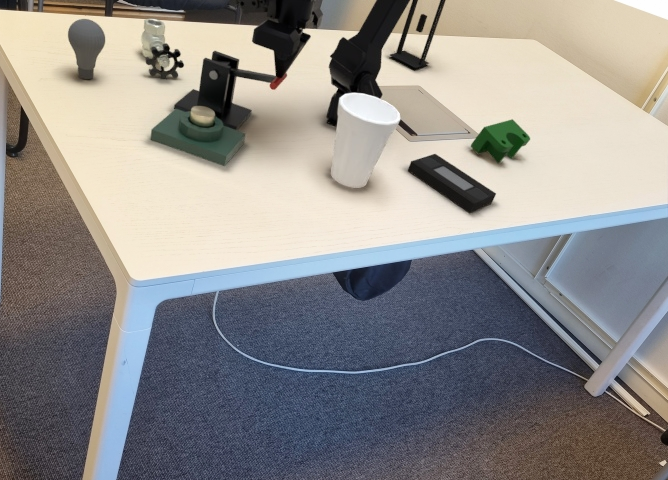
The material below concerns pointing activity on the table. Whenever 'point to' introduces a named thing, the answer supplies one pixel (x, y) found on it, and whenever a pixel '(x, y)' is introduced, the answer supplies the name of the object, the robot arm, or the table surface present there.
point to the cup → (361, 137)
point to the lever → (255, 75)
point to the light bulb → (86, 45)
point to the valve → (158, 49)
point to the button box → (198, 137)
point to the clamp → (501, 140)
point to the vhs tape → (452, 182)
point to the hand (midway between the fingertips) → (279, 76)
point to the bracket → (217, 92)
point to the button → (202, 116)
